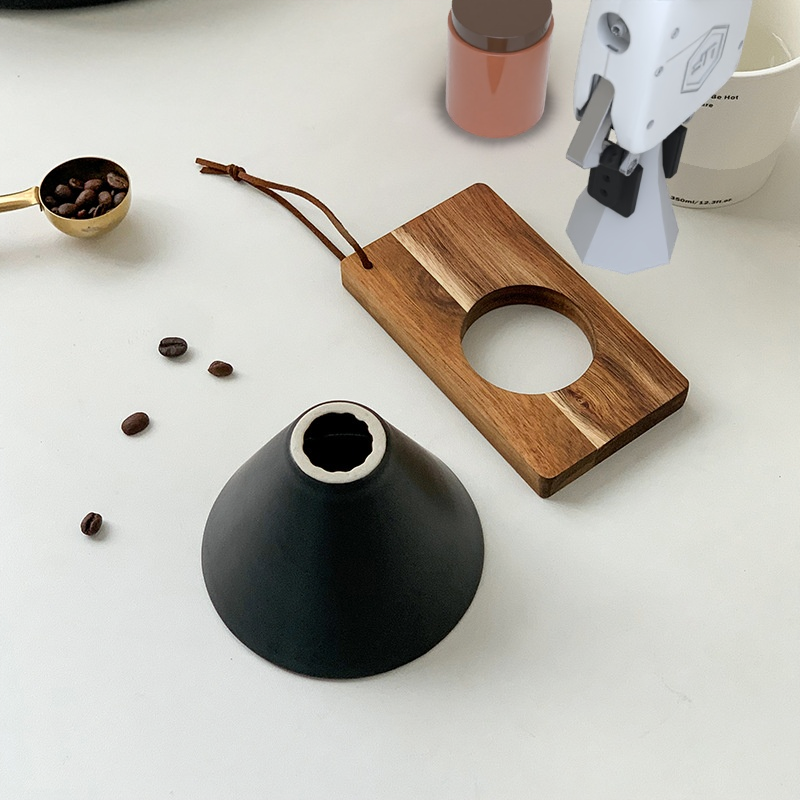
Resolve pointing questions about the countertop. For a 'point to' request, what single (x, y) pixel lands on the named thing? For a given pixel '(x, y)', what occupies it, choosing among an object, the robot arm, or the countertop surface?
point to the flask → (628, 225)
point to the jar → (498, 64)
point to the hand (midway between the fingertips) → (631, 182)
